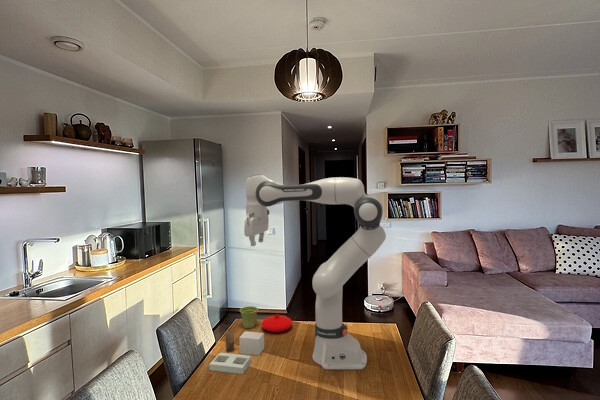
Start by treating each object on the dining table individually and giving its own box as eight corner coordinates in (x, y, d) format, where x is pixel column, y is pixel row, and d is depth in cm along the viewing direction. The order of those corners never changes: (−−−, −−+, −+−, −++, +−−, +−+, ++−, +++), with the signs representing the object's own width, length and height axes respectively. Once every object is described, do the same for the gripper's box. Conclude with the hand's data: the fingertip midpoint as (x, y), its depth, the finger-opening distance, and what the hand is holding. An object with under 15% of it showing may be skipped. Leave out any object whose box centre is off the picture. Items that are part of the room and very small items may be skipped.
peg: (235, 348, 144) (235, 330, 143) (232, 352, 140) (231, 334, 140) (228, 347, 144) (227, 330, 144) (224, 351, 141) (224, 333, 141)
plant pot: (251, 320, 174) (250, 304, 173) (262, 325, 167) (261, 309, 167) (236, 326, 167) (236, 309, 167) (247, 331, 160) (246, 314, 160)
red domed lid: (255, 332, 159) (255, 318, 159) (270, 320, 174) (270, 307, 174) (284, 337, 153) (283, 323, 153) (297, 324, 168) (297, 311, 167)
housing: (264, 348, 143) (263, 332, 143) (259, 355, 137) (259, 339, 137) (245, 346, 145) (244, 331, 145) (239, 353, 139) (239, 337, 139)
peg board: (251, 361, 132) (251, 355, 132) (242, 374, 123) (242, 367, 123) (220, 358, 135) (220, 352, 135) (209, 370, 126) (209, 364, 126)
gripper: (254, 214, 128) (255, 248, 129) (270, 210, 148) (271, 240, 149) (239, 214, 130) (240, 248, 130) (257, 210, 150) (258, 240, 150)
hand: (257, 244), depth 140 cm, fingers open, 8 cm apart
